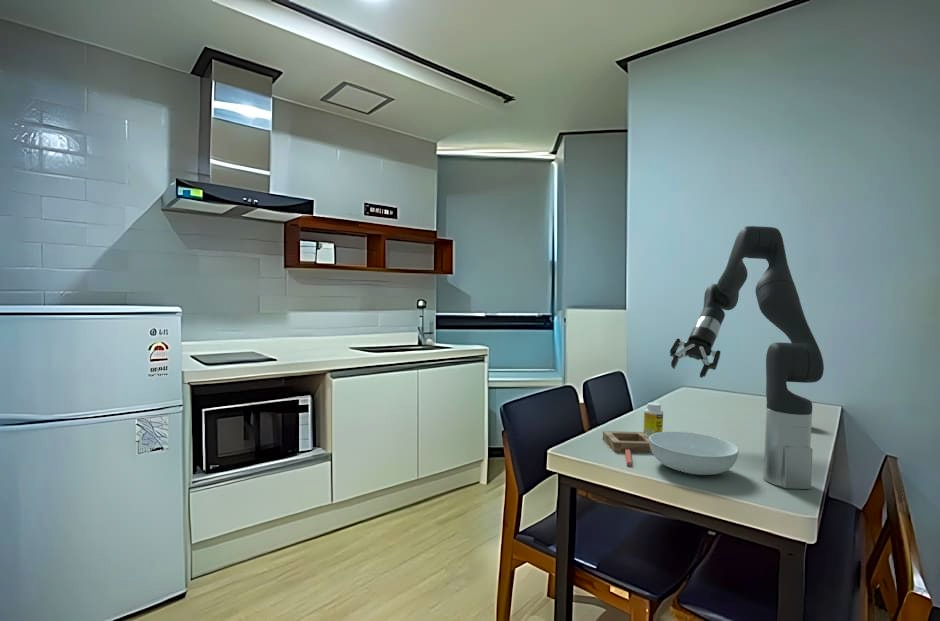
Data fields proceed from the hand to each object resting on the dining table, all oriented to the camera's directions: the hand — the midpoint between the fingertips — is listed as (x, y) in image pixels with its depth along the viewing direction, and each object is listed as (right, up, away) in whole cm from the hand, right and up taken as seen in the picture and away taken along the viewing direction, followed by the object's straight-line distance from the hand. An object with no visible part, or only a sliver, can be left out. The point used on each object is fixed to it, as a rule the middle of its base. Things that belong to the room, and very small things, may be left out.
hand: (686, 371), depth 161 cm
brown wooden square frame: (-22, -20, -12) cm, 32 cm away
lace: (-26, -20, -25) cm, 41 cm away
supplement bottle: (-11, -20, -1) cm, 23 cm away
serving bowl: (-12, -21, -31) cm, 40 cm away
